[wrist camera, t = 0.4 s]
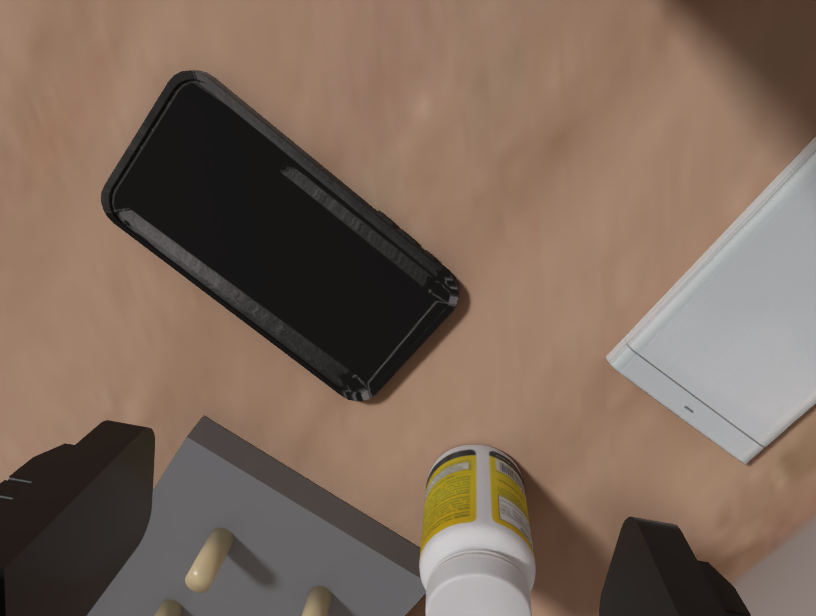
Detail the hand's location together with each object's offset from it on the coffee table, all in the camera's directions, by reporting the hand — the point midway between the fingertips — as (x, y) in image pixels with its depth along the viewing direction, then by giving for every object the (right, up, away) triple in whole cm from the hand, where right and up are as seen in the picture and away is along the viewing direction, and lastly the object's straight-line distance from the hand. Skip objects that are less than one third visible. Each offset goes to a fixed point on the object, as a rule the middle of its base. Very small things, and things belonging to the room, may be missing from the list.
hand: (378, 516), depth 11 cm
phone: (-5, +7, +18) cm, 20 cm away
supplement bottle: (+4, -5, +21) cm, 22 cm away
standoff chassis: (-8, -11, +24) cm, 28 cm away
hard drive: (+16, +4, +17) cm, 24 cm away
